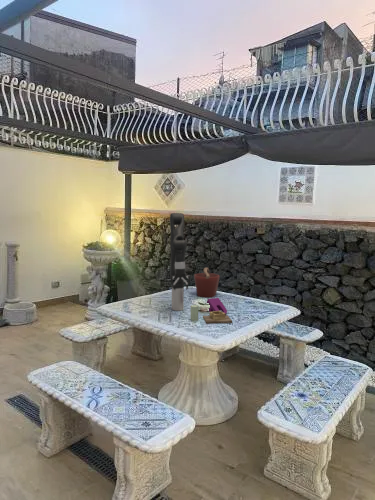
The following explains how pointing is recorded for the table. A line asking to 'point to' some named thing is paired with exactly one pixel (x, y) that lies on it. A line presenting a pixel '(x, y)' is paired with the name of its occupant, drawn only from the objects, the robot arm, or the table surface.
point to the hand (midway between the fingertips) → (180, 289)
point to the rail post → (194, 313)
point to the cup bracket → (217, 318)
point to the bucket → (206, 284)
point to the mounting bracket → (216, 305)
